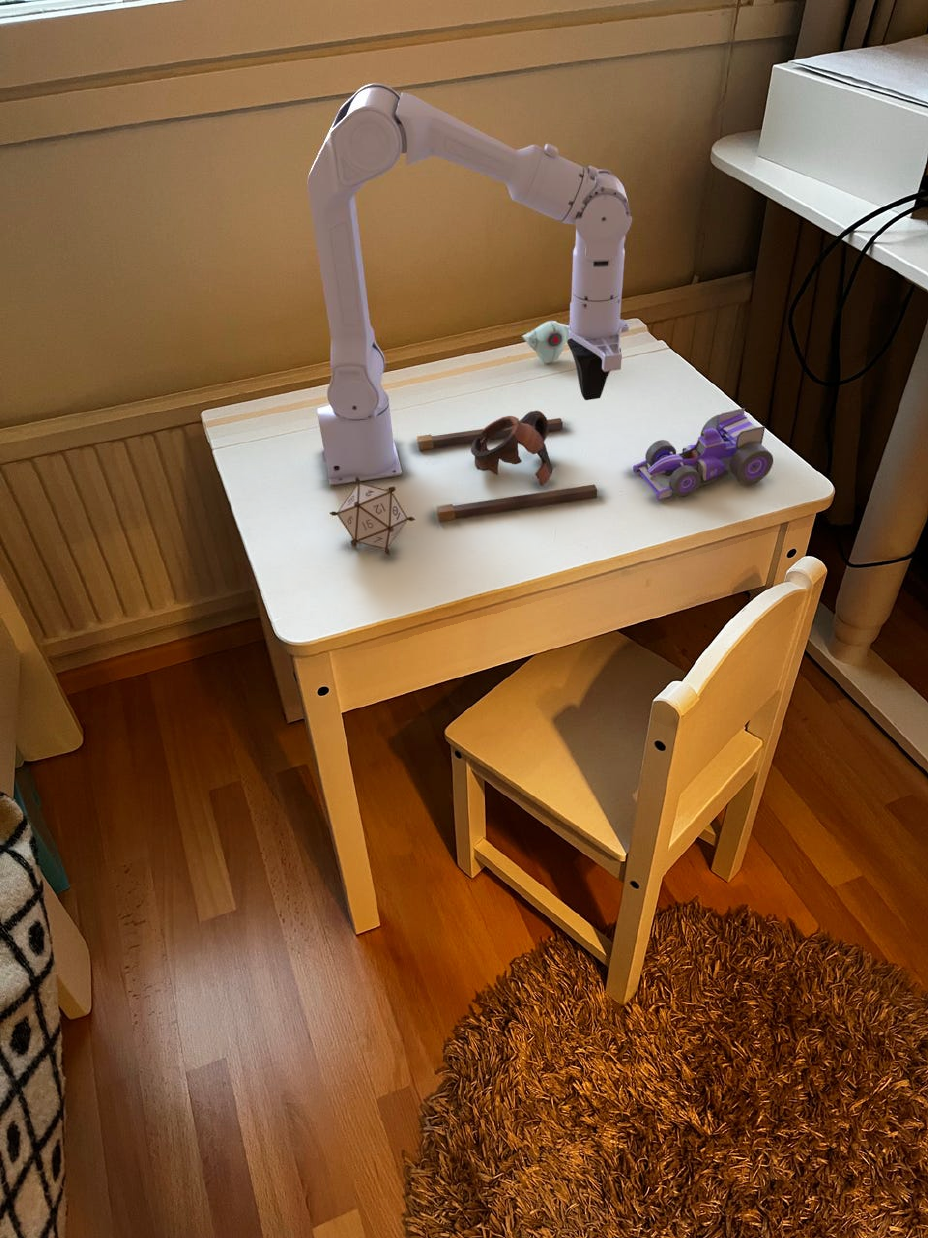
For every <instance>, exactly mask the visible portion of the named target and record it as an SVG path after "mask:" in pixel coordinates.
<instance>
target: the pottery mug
mask: <svg viewBox="0 0 928 1238" xmlns="http://www.w3.org/2000/svg"><path fill="white" fill-rule="evenodd" d="M547 420H548V418H547V416H546V415H545V414H544V413H543V412H542V411H540V410H532V411H531V410H530V411H529V412H527V413H526V414H525V415H524V416H523V417H522V418H521V419H519V418H518V417H516V416H514V415H507V416H503V417H500V418H498V419H496V420H493V422H491V423H489V424H487V426H485V427H484V428H482V429H483V430H482V431H481V433H482V435H483V436H484V439H483V440H482V441H480V439H479V438H476V440H474V441H473V442H472V443H471V446H470V452H471V454H472V455H473V457H474V466H475V468H476V469H477V471H481V472H485V471H486V472H487V471H488V472H491V473H492V474H494V475H496V476H498V475H499V471H498V468H499V463H500V461H502V462H503V463H507V464H511V465H518V464H521V463H522V459H521V456H519V455H520V454H519V453H520V451H519V445H521V446H522V447H523V448H524V449H525V450H526V451H527V452H528V453H530V454H531V455H536V454H537V456H538V457H539V458H540V460H541V464H540V466H539V468H538V469H537V470H536V472H535V473H534V475H535V477H536V478H537V479H538V482H539V485H540V486H541V487H543V486H545V484H547V483H548V481H549V480H550V478H551V477H552V475H553V470H554V467H553V465H552V462H551V461H552V460H551V459H550V456H549V452H548V449H547V446H546V443H545V441H546V438H547V436H548V421H547ZM511 426H514V427H513V430H512V432H511V434H510V435H509V436H508V437H507V438H504V440H503V441H502V442H501V443H500V444H498V445H496V446H495V447H493V448H492V449H489V448H488V442H489V441H491V440H490V439H491V438H492V437H493V436H494V435H495V434H497V433H498V432H500V431H502V430H504V429H506V428H509V427H511Z"/></svg>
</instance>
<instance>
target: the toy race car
mask: <svg viewBox="0 0 928 1238" xmlns="http://www.w3.org/2000/svg"><path fill="white" fill-rule="evenodd" d="M745 411H746V408H745V407H742V408H739V409H735V410H729V411H726V412H721V413H719V414H715V415H714V416H713V417H711V418H710V419H708V420H707V421H706V422H705V424H704V425H703V426H702V429H701V431H700V436H698V437H697V441H696V443H695V444H690V445H687V446H685V447H683V448H682V449H681V451H682V452H680V453H677V450H676V448H675V446H673V445H672V444H671V442H670V441H668V440H664V439H660V440H657V441H655V442H653V443H652V444H651V445H650V446H649V447H648V448H647V450H646V451H645V460H643V461H641V462H638V463H637V464H633V466H632V472H633V473H634V474H637V473H638V474H639V475H640V476H641V477H642V478H643V480H644V481H645V482H646V483H647V484H648V485H649V486H650V488H651V489H653V491H654V492H655V493H656V495H655V499H656V500H658V501H659V500H664V499H667V498H671V497H672V496H673V495H672V494H673V493H674V494H675V495H676V496H677V497H682V498H683V497H684V498H685V497H687V496H689V495H692V494H693V493H695V491H696V490H697V489H698V488H700V487H705V486H707V485H710V484H712V483H714V482H716V481H718V480H721V479H723V478H724V477H726V476H728V475H729V470H730V472H731V474H732V475H733V476H734V477H735V478H736V479H737V480H738V481H740V482H741V483H742V484H744V485H754V484H757V483H758V482H760V481H762V480H763V479H764V478H765V477H767V475H768V474H769V473H770V471H771V470H772V468H773V464H774V457H773V455H772V453H771V452H770V451H769V450H768V449H767V448H766V447H765V446H763V444H762V443H763V439H764V438H763V437H764V434H765V430H766V426H765V425H763V426H759V427H758V426H756V425H755V424H754V423H753V422H751V420H749V419H748V417H747V415H745ZM726 467H729V470H728V469H726ZM658 474H661V475H662V476H664V477H666V478H667V477H669V479H668V486H667V487H666V488H664V487H663V486H662V485H661V484H660V483H659V482H658V481H657V480H656V479H655V478H654V477H656V475H658ZM672 492H673V493H672Z"/></svg>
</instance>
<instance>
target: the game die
mask: <svg viewBox="0 0 928 1238" xmlns="http://www.w3.org/2000/svg"><path fill="white" fill-rule="evenodd" d="M355 480H356V482H355V483H357V484H356V486H355V487H353V490H352V491H351V493H350V494H349V495H348V497H347V498H346V499H345V501H344V502H343V503H342V505H341V507H340V508H339V510H338V511H331V512H329V515H331V516H332V517H333V516H337V517H338V519H339V521H340V523H342V525H343V526H344V528H345V529H346V530H347V532H348V534H349V535H350V536H351V538H352V539H351V540H350V545H351V548H353V547H356V546H357V544H360V545H366V546H370V547H373V548H377V549H382V550H384V553H385V555H387V556H390V553H391V552H390V549H389V546H391V544H392V542H394V540H395V539H396V537H397V535H398V534H399V533H400V531H401V530H402V529H403V527H404V526H405V524H406V523H407V522H408V521H409V522H413V521H415V520H416V519H415V517H413V516H407V514H406V512H405V511H404V509H403V508H402V506H401V503H400V502H399V501H398V499H397V497H396V496H395V494H394V493H395V491H396V486H389V487H388V488H387V489H385V488H383V487H382V488H381V487H378V486H374V485H371V484H366V483H363V482H361V481H360V480H359V478H358V477H356V478H355Z"/></svg>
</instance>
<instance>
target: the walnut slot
mask: <svg viewBox="0 0 928 1238" xmlns="http://www.w3.org/2000/svg"><path fill="white" fill-rule="evenodd" d="M547 421H548V432H554V431H555V432H556V431H562V430H563V425H564V422H563V420H562V418H561V417H558V418H551V419H547ZM513 427H514V426H511V427H509V428H506V429H504V430H502V431H500V432H498V433H497V434H495V435H494V436H493V437H492V438H491V439H490V440H489V441H492V440H493V441H494V440H499V439H506V438H507V437H508V436H509V435H510V434H511V432H512V430H513ZM483 429H484V428H481V429H479V428H478V429H472V430H466V431H465V430H464V431H460V432H453V433H445V434H438V435H432V434H425V435H417V436H416V443H417V444H416V445H417V448H418V451H427V450H433V449H436V448H443V447H451V446H456V445H465V444H470V443H471V444H472V443H473V441H474V440H476V438H479V439H480V442H481V441H482V440H483V439H484V436H483V435H482V433H481V431H482V430H483ZM548 432H547V433H548ZM597 497H598V488H597V486H596V484H589V485H582V486H575V487H569V488H562V489H555V490H549V491H542V492H535V493H528V494H522V495H515V496H508V497H502V498H495V499H488V500H482V501H475V502H469V503H461V504H455V505H454V504H453V503H449V504H443V505H437V506H436V516H437V520H438V522H439V523H440V522H441V523H442V522H448V521H454V520H458V519H463V518H471V517H478V516H484V515H490V514H495V513H496V514H498V513H503V512H509V511H510V512H511V511H517V510H523V509H531V508H536V507H542V506H549V505H555V504H556V505H557V504H563V503H570V502H575V501H583V500H588V499H595V498H597Z"/></svg>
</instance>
